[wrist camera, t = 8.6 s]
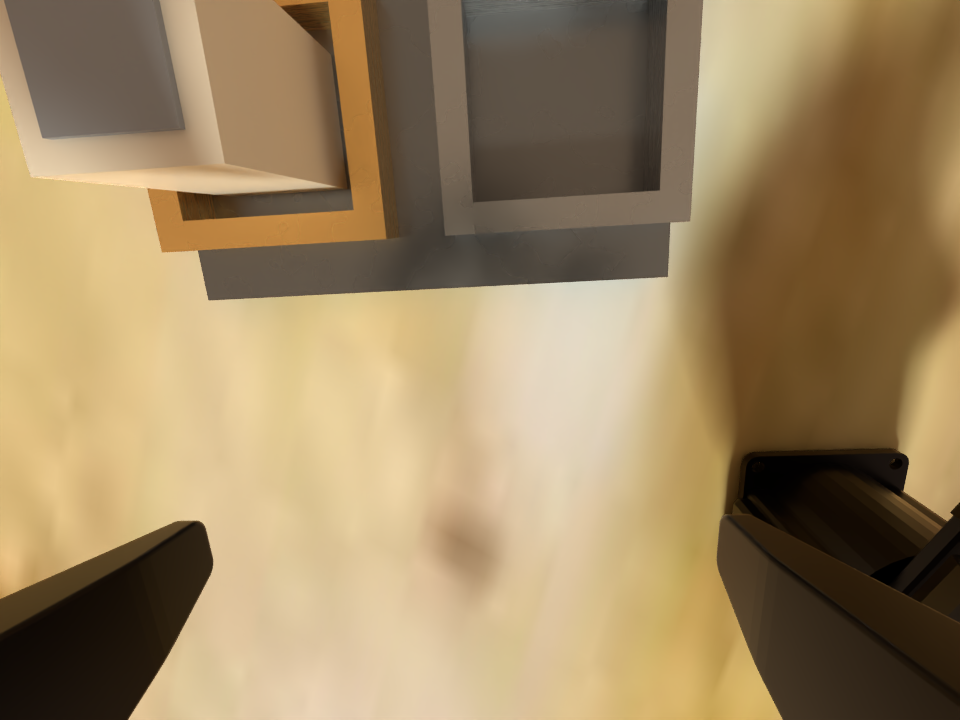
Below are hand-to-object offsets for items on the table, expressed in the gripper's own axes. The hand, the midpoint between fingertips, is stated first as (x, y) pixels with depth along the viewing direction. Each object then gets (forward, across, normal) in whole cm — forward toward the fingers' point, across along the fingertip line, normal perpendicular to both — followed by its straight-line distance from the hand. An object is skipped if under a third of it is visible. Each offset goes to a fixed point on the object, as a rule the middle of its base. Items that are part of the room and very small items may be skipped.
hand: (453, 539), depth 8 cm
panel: (+12, +2, -9) cm, 15 cm away
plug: (+11, +7, -9) cm, 16 cm away
